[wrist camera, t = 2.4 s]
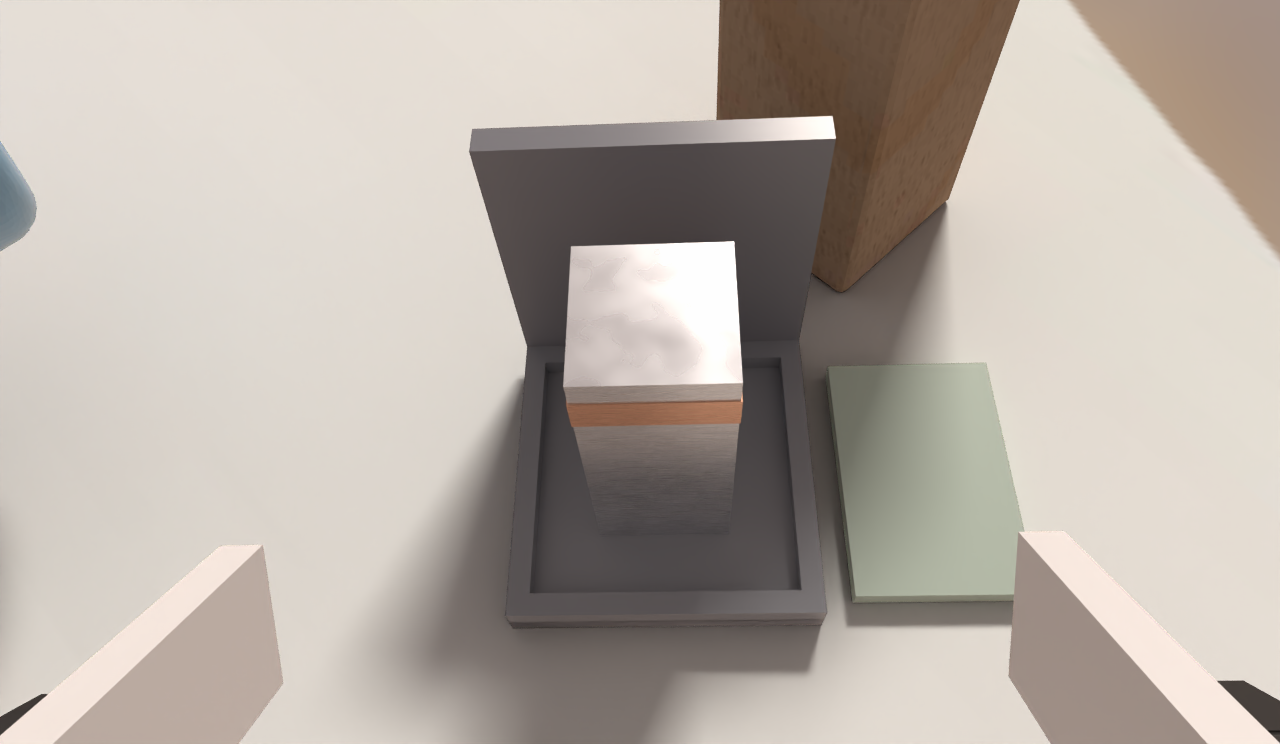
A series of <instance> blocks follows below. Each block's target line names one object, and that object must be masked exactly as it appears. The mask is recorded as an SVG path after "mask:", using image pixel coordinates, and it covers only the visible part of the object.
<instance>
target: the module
mask: <svg viewBox="0 0 1280 744" xmlns="http://www.w3.org/2000/svg"><path fill="white" fill-rule="evenodd" d="M742 387H743V377H742V361H741V345H740V329H739V314H738V298H737V282H736V266H735V250H734V242H704V243H670V244H636V245H603V246H571V257H570V275H569V293H568V311H567V329H566V347H565V365H564V382H563V388H564V392H565V396H566V407H567V411H568V415H569V419H570V423H571V427H573V428H574V432H575V436H576V440H577V444H578V448H579V452H580V456H581V460H582V464H583V468H584V472H585V476H586V480H587V484H588V488H589V492H590V496H591V500H592V503H593V507H594V511H595V515H596V519H597V523H598V527H599V531H600V535H601V536H631V535H700V534H729V529H730V518H731V507H732V496H733V485H734V474H735V463H736V453H737V442H738V431H739V424H740V423H741V416H742V405H743V397H742Z"/></svg>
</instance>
